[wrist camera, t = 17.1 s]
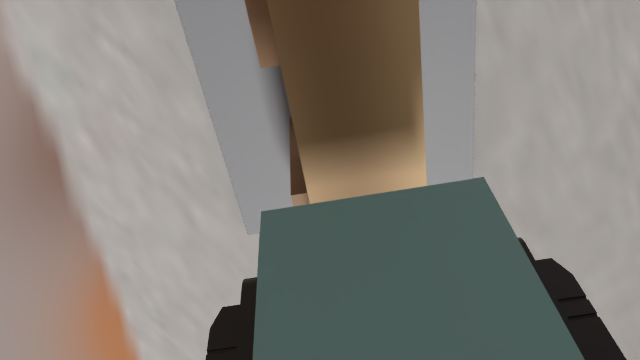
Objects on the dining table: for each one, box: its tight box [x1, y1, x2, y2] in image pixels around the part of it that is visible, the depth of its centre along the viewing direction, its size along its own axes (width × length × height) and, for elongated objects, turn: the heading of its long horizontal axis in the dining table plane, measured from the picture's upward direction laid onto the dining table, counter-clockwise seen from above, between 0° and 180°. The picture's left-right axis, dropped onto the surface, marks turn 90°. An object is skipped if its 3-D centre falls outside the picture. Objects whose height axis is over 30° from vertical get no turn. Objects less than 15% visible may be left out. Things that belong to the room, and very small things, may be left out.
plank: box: [267, 0, 427, 204], centre depth 16 cm, size 4×14×3 cm, turn 9°
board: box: [174, 0, 476, 235], centre depth 23 cm, size 12×18×1 cm, turn 9°
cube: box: [253, 177, 585, 360], centre depth 10 cm, size 4×4×4 cm
